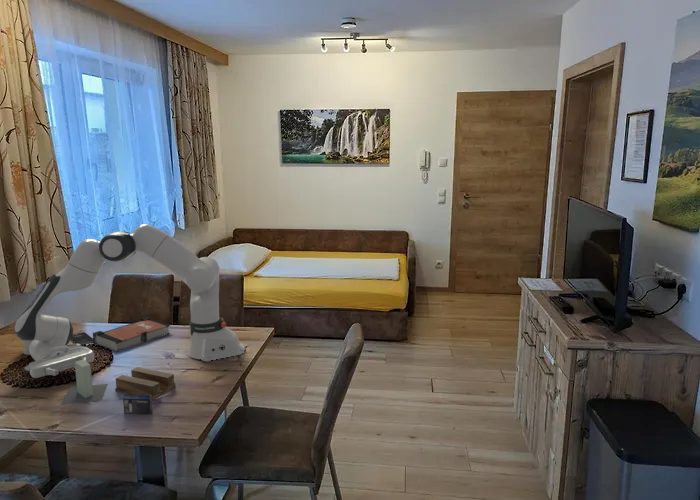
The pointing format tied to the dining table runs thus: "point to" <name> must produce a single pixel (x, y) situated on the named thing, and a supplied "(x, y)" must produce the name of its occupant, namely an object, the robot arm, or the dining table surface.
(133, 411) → the mini dv tape
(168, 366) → the dining table surface
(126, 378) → the rack
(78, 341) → the smartphone
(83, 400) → the mat
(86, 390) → the tall sage green pillar
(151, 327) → the book
